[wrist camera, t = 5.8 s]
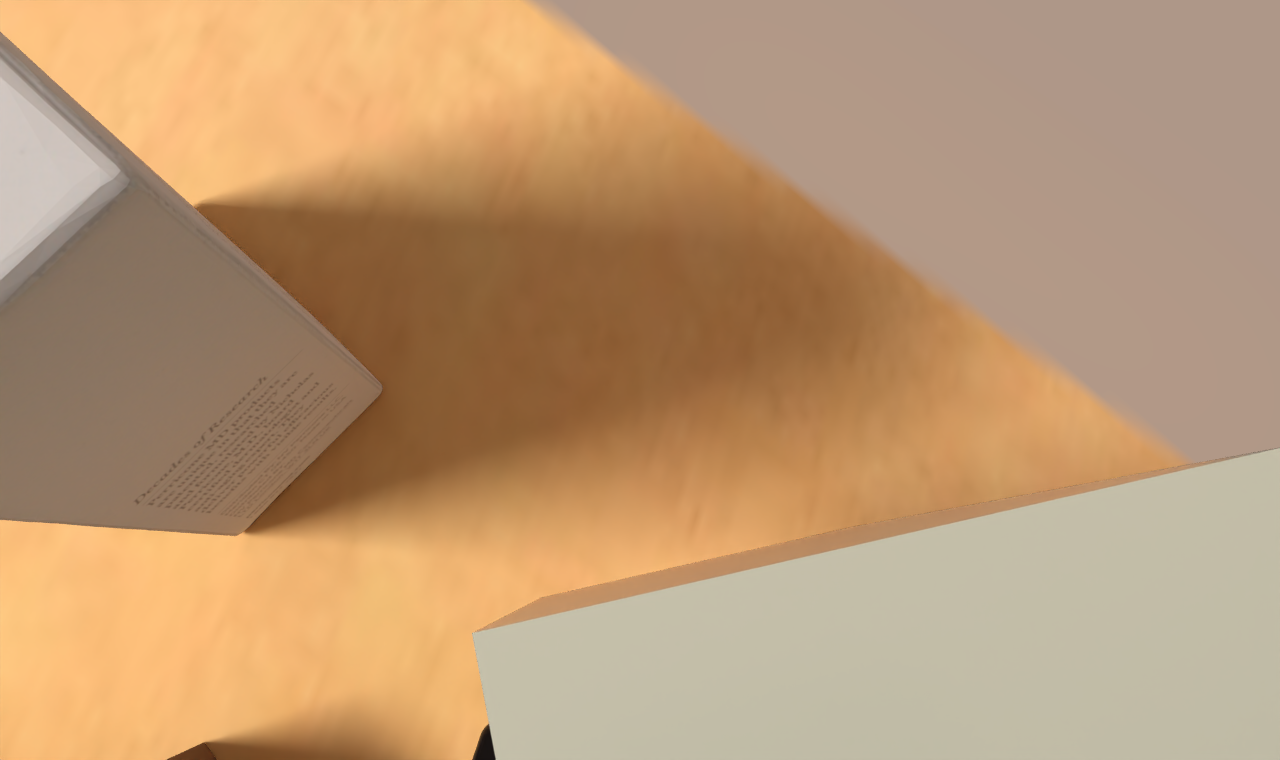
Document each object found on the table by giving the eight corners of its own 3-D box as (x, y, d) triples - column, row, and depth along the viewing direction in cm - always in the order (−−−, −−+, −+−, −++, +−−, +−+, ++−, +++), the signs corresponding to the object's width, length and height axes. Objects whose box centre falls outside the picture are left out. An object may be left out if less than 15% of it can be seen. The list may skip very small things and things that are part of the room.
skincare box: (28, 346, 20) (-725, 38, 9) (186, 199, 21) (-308, -268, 9) (242, 551, 20) (-251, 522, 8) (396, 394, 21) (151, 158, 9)
